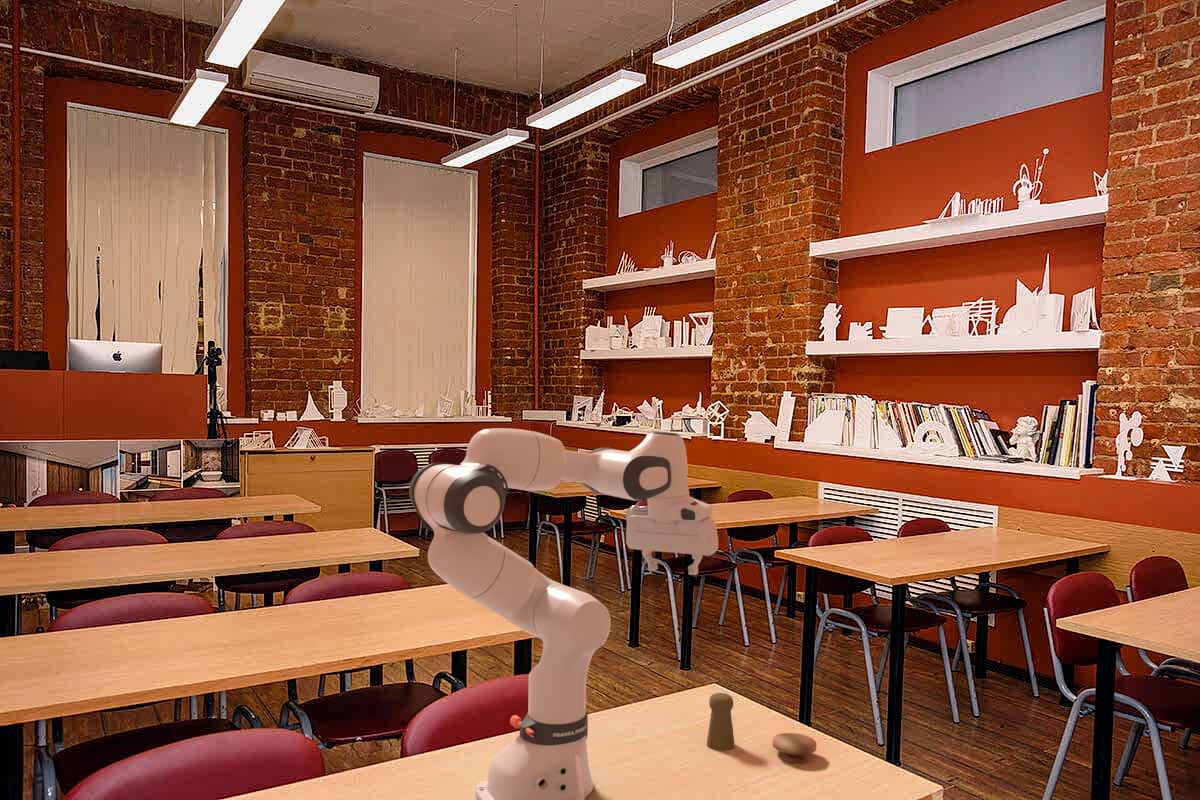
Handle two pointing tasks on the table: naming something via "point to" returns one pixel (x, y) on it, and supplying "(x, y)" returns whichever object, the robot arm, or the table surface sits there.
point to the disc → (794, 747)
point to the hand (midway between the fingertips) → (673, 572)
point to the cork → (721, 723)
